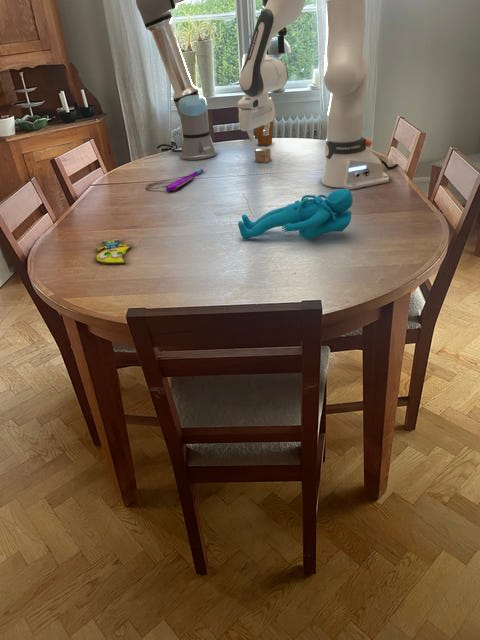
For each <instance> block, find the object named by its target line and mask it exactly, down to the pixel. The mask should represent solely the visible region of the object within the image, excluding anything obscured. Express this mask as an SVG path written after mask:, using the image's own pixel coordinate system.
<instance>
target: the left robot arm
mask: <svg viewBox="0 0 480 640" xmlns="http://www.w3.org/2000/svg"><path fill="white" fill-rule="evenodd" d="M187 1H189V0H135V4H136V7H137V11H138V12H139V14H140V18H141V20H142V22H143V24H144V27H145V30H148V31H149V32H151V35H152V38H153V40H154V43H155V46H156V48H157V50H158V53H159V56H160V59H161V61H162V64H163V66H164V69H165V72H166V74H167V76H168V80H169V83H170V85H171V87H172V90H173V95H172V100H173V102H174V105H175V107H176V110H177V114H178V116H179V119H180V125H181V132H182V144H181V149H177V148H176V146H175V145H172V144H167V143H161V144H159V145H157V147H156V150H157V149H160V148H162V147H169V148H171V152H172V153H180V158H181V159H182V160H185V161H201V160H202V161H203V160H208V159H210V158H213V157H215V156H216V155H217V148H216V147H215V145H214V141H213V140H212V137H211V133H210V122H209V114H208V103H207V99H206V98H205V97H204V96H203V95H201V94H200V91H199V88H198V87H197V86H195V85H194V84H193V82H192V79H191V76H190V73H189V71H188V68H187V65H186V62H185V59H184V57H183V54H182V51H181V48H180V45H179V43H178V40H177V37H176V34H175V31H174V29H173V26H172V21H173V15H172V12H171V11H172V10H175V9H177V7H178V5H180V4H183V3H185V2H187ZM261 2H262V8H265V6H266V4H267V2H268V0H262V1H261ZM263 10H264V9H263ZM263 10H260V14H261V13H262V11H263ZM287 33H288V30H287V26H286V27H284V28H283V29H281V30H280V31H279V32H278V33H277V34H278V35H277V53H278V54H285V36H287ZM266 54H267V55H268V56H269V49H268V50H267V53H266Z"/></svg>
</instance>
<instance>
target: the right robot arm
mask: <svg viewBox="0 0 480 640" xmlns="http://www.w3.org/2000/svg"><path fill="white" fill-rule="evenodd" d="M305 4H306V0H268V2H267V4H266V6H265V8H264V7H263V8H264V9H263V11H262V10H261V11H262V13H261V12H260V14H259V16H258V18H257V20H256V24H255V27H254V30H253V32H252V36H251V41H250V43H249V47H248V51H247V52H245V53H244V54H243V57H242V66H241V69H240V72H239V76H238V84H239V88H240V89H241V90H242V92H243V93H244V95H243V96H242V97H241V98H240V99H239V100H238V102H237V104H236V105H237V109H238V124H239V126H238V127H239V129H240V131H242V132H246V133H247V135H248V138H249V142H251V143H252V142H256V140H257V136H256V135H254V132H255V131H254V130H256V129H255V128H257V127H260V126H262V125H264V131H263V135H264V136H267V135H269V127H270V122H272V121H274V122H275V121H276V115H277V114H276V109H275V102H274V101H273V98H272V96H270V95H269V93H270V92H273V91H277V90H278V91H279V90H280V89H282V88H284V87H285V86H286V84H287V83H288V78H289V72H288V71H289V70H288V67H287V65H286V64H285V63H284V62H283V61H282V60H281V59H276V58H274V57H272V56H270V55H269V54H268V55H267V54H266V53H267V50H268V51H269V47H270V43H271V41H272V40H273V38H274V37H275V36H276V35H277V34H278V32H279V31H280V30H281V29H283V28H284V27H286V28H287V26H290V25H291V24H293V23H294V22H295V21H297V20H298V19H299V17H300V16H301V14H302V12H303V10H304V7H305ZM325 15H326V39H325V53H324V72H323V83H324V87H325V88H326V90H327V92H329V93H330V98H329V106H328V111H327V123H326V124H327V126H326V127H327V129H326V130H327V133H326V139H325V145H324V154H325V155H324V156H325V164H324V168H323V169H324V170H323V175H322V178H321V183H322V185H324V186H327V187H330V188H337V189H348V190H356V189H361V188H366V187H371V186H376V185H380V184H385V183H389V182H390V176H389V175H388V174H387V173H386V172H385V171H384V168H383V165H384V167H385V168H386V169H387V170H393V169H395V168H397V167H399V164H398V163H396V164H394V165H391V166H390V165H388V164H387V162H386V161H384V160H382V158H380V157H377V156H376V155H375V154H373V152H371V151H370V150H368V148H370V147H371V146H373V141H372V140H371V139H368V138H367V139H366V138H364V137H363V136H362V134H363V118H364V108H365V100H366V93H367V86H368V85H367V84H368V75H369V63H368V60H367V58H366V56H365V55H364V39H365V30H366V0H325Z"/></svg>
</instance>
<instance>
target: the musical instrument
mask: <svg viewBox="0 0 480 640" xmlns="http://www.w3.org/2000/svg"><path fill="white" fill-rule="evenodd" d="M204 172H205V170H204V168H201V169H198V170H196V171H195V170H194V172H191V173H190V174H188V175H184V176H179V177H174V178H169V179H164V180H159V181H156V182H153V183H150V184H146V185H145V188H146V189H152V190H153V189H154V190H155V189H157V190H158V189H162V188H166V191H167V192H171V191H177V190H178V189H179V187H182V186H183V185H184V184H186V183H188V182H189V181H191V180H193V179H195V176H197V175H199V174H202V173H204ZM175 179H176V180H175ZM171 180H175V181H173V182H170V183H168V184H166V185H164V186H160V187H151V186H152V185H154V184H158V183H162V182H165V181H166V182H167V181H171Z"/></svg>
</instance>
